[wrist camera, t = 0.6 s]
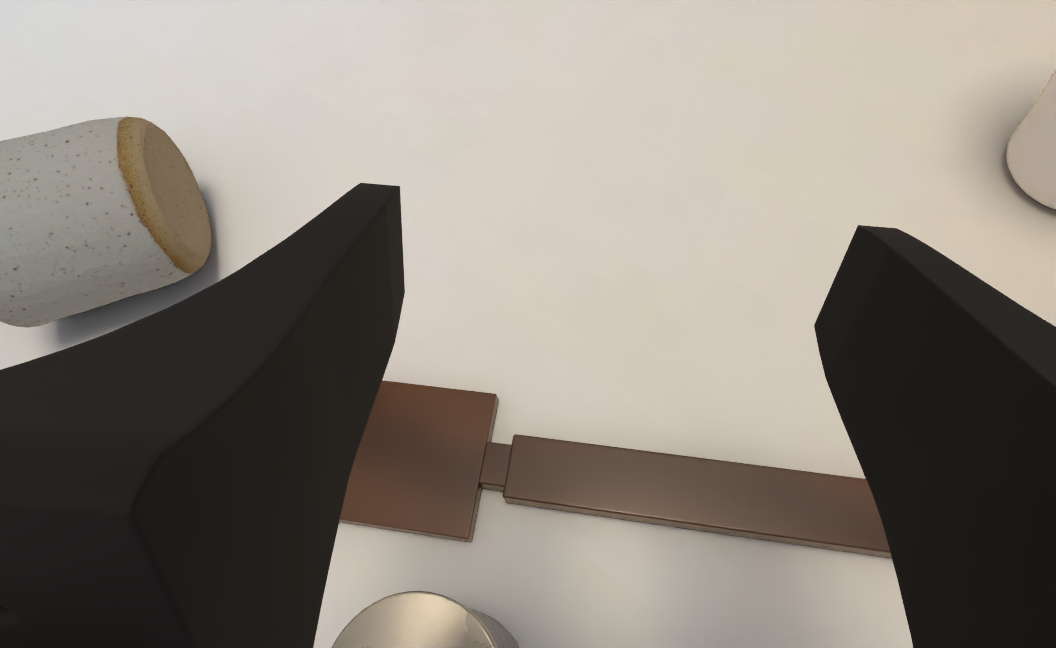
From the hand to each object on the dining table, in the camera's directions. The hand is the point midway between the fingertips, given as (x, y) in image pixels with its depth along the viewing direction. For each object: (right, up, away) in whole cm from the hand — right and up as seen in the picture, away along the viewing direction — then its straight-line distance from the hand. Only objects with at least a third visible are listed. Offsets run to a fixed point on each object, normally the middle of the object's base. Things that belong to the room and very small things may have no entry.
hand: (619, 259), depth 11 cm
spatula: (+1, -7, +15) cm, 17 cm away
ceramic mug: (-21, +3, +23) cm, 31 cm away
